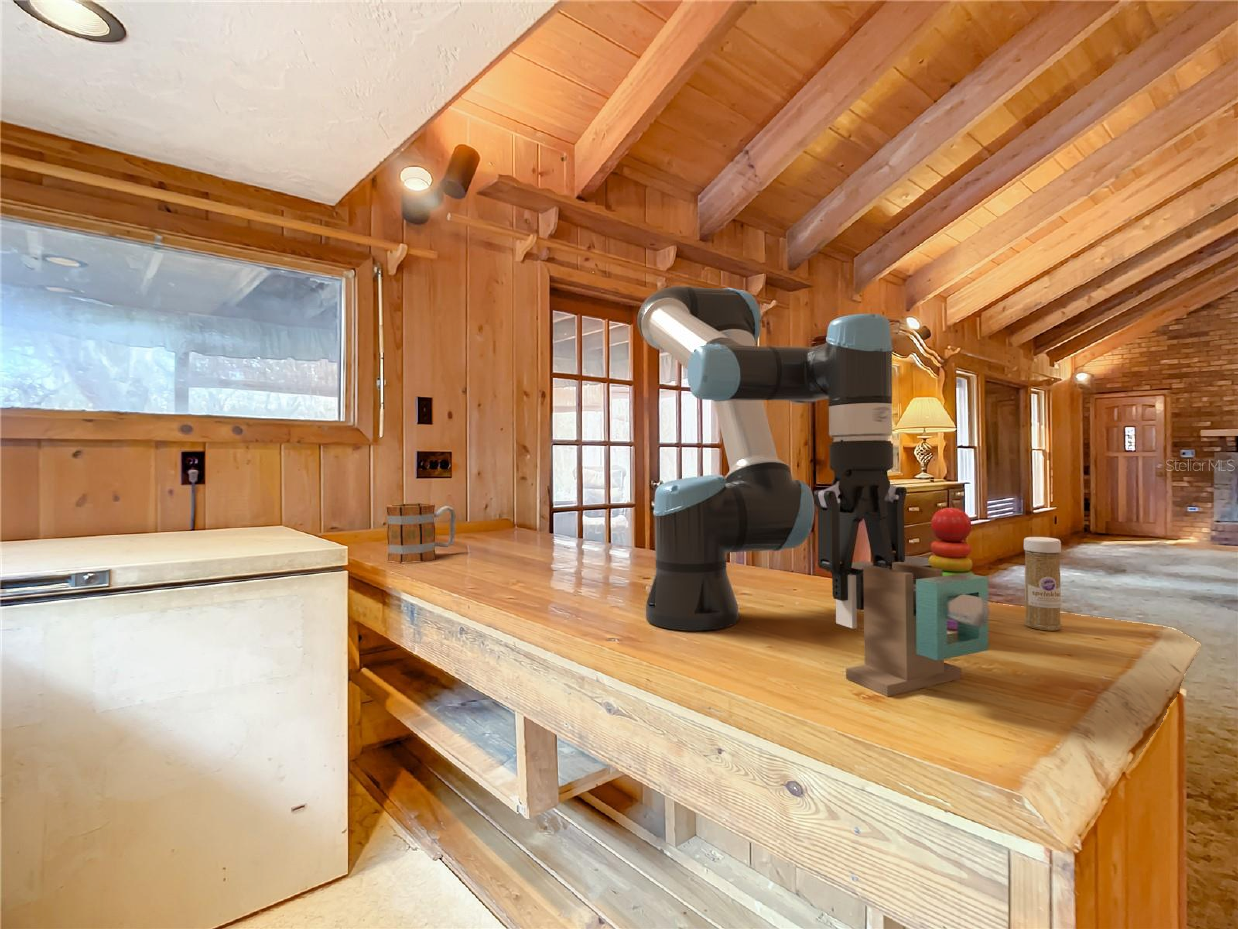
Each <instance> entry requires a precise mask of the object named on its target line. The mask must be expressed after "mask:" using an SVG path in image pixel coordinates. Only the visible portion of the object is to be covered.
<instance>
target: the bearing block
mask: <svg viewBox="0 0 1238 929" xmlns="http://www.w3.org/2000/svg"><path fill="white" fill-rule="evenodd" d="M940 576H943V572H942V569H936V568H931V567H925V566H920V565H914V564H909V563H903V562H894V563H892V569H887V568H882V567H876V566H871V565H869V566H863V584H864V610H863V626H864V627H863V631H864V633H863V634H864V639H863V640H864V642H863V643H864V645H863V646H864V664H861V665H857V666H851V667H848V668H845V679H846V680H849V681H851V682H853V683H855V684H857V685H860V686H863V687H864V688H867V689H869V690H871V691H874V692H876V693H878V694H881V695H883V696H885V697H892V696H894V695H900V694H903V693H904V694H905V693H908V692H911V691H914V690H920V689H923V688H927V687H931V686H936V685H939V684H943V683H947V682H948V683H949V682H952V681H955V680H959V679H962V678H963V676H962V672H963V671H962V669H963V668H962V667H960V666H957V665H954V664H950V663H948V662H946V661H945V659H943V660H939V661H937V660H934V659H931V658H928V657H925V656H922V655H919V654H917V641H916V611H915V610H913V583H914V584H916V579H924V578H932V577H940Z"/></svg>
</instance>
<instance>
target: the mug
mask: <svg viewBox="0 0 1238 929" xmlns="http://www.w3.org/2000/svg"><path fill="white" fill-rule="evenodd" d="M435 508H436V505H435V503H433V502H432V503H431V502H429V503H426V502H415V503H414V502H413V503H399V504H398V503H397V504H387V505H386V512H387V532H386V534H387V544H388V556H387V562H388V561H395V562H412V561H424V562H428V561H431V560H436V559H437V555H436V551H435V550H436V549H435V548H436V547H441V548H448V547H450V546H452V545H453V543H454V540H455V536H456V535H455V534H456V517H457V516H456V513H455V509H454V508H453V507H452V506H451V507H450V506H448V505H444V506H442V507H440V508H439V509H438V510H437V512H436V513H435ZM446 510H448V511H449V514H450V522H449V539H448V541H447V542H446V543H444V542H441V541H440V542H437V541H435V540H436V527H435V525H436V524H435V518H439V517H440V516H441V515H442V514H443V513H444V512H445V511H446Z"/></svg>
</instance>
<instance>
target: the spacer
mask: <svg viewBox="0 0 1238 929" xmlns="http://www.w3.org/2000/svg"><path fill="white" fill-rule="evenodd" d="M973 574H974V573H973ZM973 574H968V573H965V574H957V575H948V576H940V577H932V578H924V579H916V641H917V654H919V655H922V656H925V657H928V658H931V659H934V660H937V661H939V660H943V659H944V660H949V659H953V658H958V657H962V656H967V655H971V654H976V653H977V654H978V653H982V652H983V653H984V652H987V651H989V618H988V619H987V621H986V623H985V624H984V625H983V626H981V627H976V626H972V625H968V624H965V623H961V622H958V632H957V633H952V634H947V597H949V596H956V595H962V594H966V595H970V596H975V597H980V598H983V599H985V600H986V601H987V603H988V604H989V576H984V575H978V574H974V575H973Z"/></svg>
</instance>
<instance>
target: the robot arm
mask: <svg viewBox="0 0 1238 929" xmlns="http://www.w3.org/2000/svg"><path fill="white" fill-rule="evenodd" d="M636 319H637V328H638V332H639V333H640V335H641V337H642V339H643V340H644V341H645V342H646V343H647V344H648V345H649V346H651V347H652V348H654V349H656V350H661V351H665V352H666V353H667V354H669V356H670V357H672V358H673V359H674V360H676V361H677V362H678V364H680V365H682V366H683V367H684V368H685V369H686V370H687V373H686V374H687V376H686V377H687V383H688V386H689V390H690V393H691V394H692V396H694V397H695V398H697V399H698V400H705V401H706V400H707V401H708V400H709V401H713V402H714V406H715V410H716V414H717V419H718V424H719V428H720V434H721V437H722V441H723V446H724V449H725V455H726V459H727V463H728V468H729V471H728V473H727V474H726V475H725V476H724V475H722V474H708V475H702V476H699V475H698V476H692V477H690V476H689V477H685V478H679V479H674V480H669V481H666V482H662V483H661V484H659V485H658V486H657V487H656V490H655V492H654V504H653V506H654V507H653V510H652V511H653V515H654V541H655V542H654V547H655V548H654V551H655V553H654V554H655V572H654V576H653V580H652V584H651V588H650V590H649V594H648V597H647V600H646V603H645V618H646V621H647V622H648V623H650V624H651V625H654V626H656V627H661V628H664V629H668V630H669V629H670V630H677V631H694V632H695V631H698V632H699V631H711V630H712V631H713V630H718V629H724V628H727V627H731V626H733V625H735V624H736V623H737V622H739V605H738V602H737V599H736V596H735V593H734V590H733V587H732V584H731V581H730V578H729V575H728V570H727V554H728V553H744V552H762V551H774V552H778V551H781V550H787V549H788V550H789V549H793V548H794V549H795V548H797V547H799V546H801V545H802V544H803V543H804V542H806V540H807V538H808V537H809V536H810V534H811V530H812V527H813V524H814V520H815V510H816V508H817V565H818V568H820V569H821V570H825V571H826V572H830V573H831V576H832V577H831V580H832V582H831V585H832V598H833V599H834V600H835V623H836V624H838V625H841V626H844V627H847V628H850V629H857V628H858V621H857V620H858V616H857V614H858V613H857V612H858V609H857V603H856V575H853V574H850V572H851V567H852V563H853V561H854V555H855V549H856V545H857V544H856V543H857V539H858V531H859V526H860V523H861V522H862V521H863V520H864V526H865V529H866V534H867V540H868V542H869V543H868V544H869V547H870V553H871V558H872V561H873V562H872V563H878V564H883V565H888V566H890V569H892V563H894V562H904V561H905V556H906V548H905V547H906V543H905V542H906V541H905V539H906V538H905V533H906V532H905V501H906V497H907V488H906V487H905V486H896V485H893V484H891V480H890V478H889V476H888V471H890V470H892V469H893V467H894V442H893V443H892V441H891V440H888V437H890V436H892V435H893V350H894V346H893V344H892V334H891V333H892V332H891V324H890V321H889V319H888V318H887V317H886V316H884V315H881V314H879V313H878V314H876V313H857V314H849V315H844V316H840V317H837V318H835V319H833V320H832V321H830V323H829V324H828V326H827V333H826V337H825V341H826V342H825V343H823V344H819V345H816V346H806V347H803V346H772V345H770V346H769V345H768V346H767V345H766V346H765V345H763V346H762V345H756V343H757V341H758V340H759V338H760V337H759V336H760V334H761V328H762V324H761V323H760V321H761V320H762V315H761V310H760V306H759V304H758V302H757V300H756V298H755V297H754V296H753V295H752V294H751V293H750V292H749V291H747V290H744V289H743V290H742V289H736V288H733V287H725V288H714V287H713V288H712V287H711V288H710V287H695V286H682V285H678V286H677V285H676V286H668V287H664V288H662V289H660V290H657V291H655V292H653V293H652V294H650V296H648V297H647V298H646V299H644V301H643V303H642V304H641V306H640V308H639V311H638V314H637V318H636ZM826 399H827V400H828V436H829V437H830V438H831V439H833V442H830V444H829V452H828V453H829V455H828V456H829V457H828V459H829V469H830V470H831V471H833V475H834V476H833V479H832V481H831V486H830V487H827V488H825V489H816V490H814V492H812V490H811V487H810V486H809V485H808V484H807V483H806V482H805V481H802V480H801V479H793V475H792V470H791V468H790V466H789V464H788V463H786V462H784V461H783V460H781V459H779V458H778V457H779V456H778V455H777V450H776V446H775V442H774V439H773V434H772V431H771V428H770V425H769V420H768V416H767V412H766V410H765V405H764V401H776V402H777V401H782V402H783V401H786V402H787V401H789V402H791V403H793V404H795V403H796V404H804V403H806V404H812V403H816V402H817V401H821V400H822V401H823V400H826ZM815 504H816V508H815Z"/></svg>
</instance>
